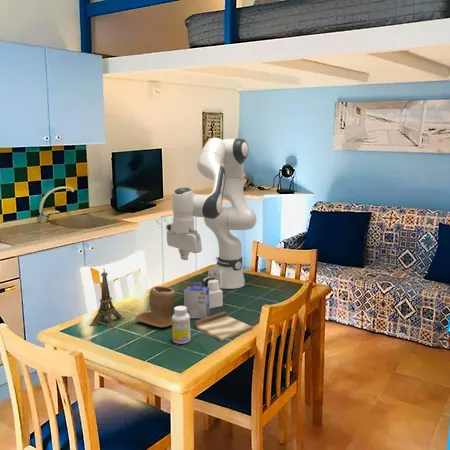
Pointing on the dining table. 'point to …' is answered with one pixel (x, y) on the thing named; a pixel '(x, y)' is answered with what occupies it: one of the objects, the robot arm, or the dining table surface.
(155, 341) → the dining table surface
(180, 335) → the supplement bottle
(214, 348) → the dining table surface
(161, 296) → the brown boot planter
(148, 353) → the dining table surface
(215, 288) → the medicine bottle
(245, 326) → the oak board
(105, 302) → the eiffel tower
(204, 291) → the ink cartridge box
